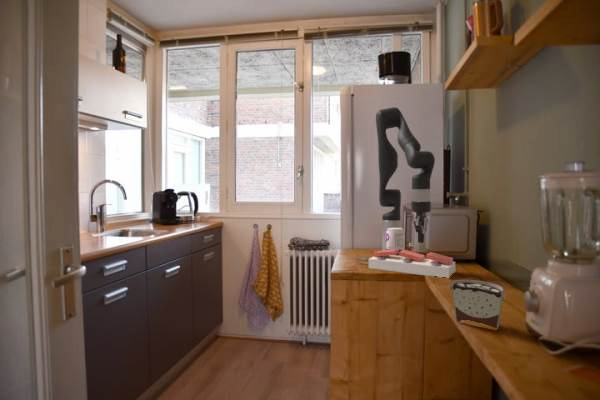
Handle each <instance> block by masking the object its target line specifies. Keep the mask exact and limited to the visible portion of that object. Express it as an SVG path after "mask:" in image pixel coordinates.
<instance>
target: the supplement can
mask: <svg viewBox="0 0 600 400" xmlns="http://www.w3.org/2000/svg"><path fill="white" fill-rule="evenodd" d="M395 249H398V250H399V252H400V251H402V250H405V230H404V228H402V227H401V228H388V229H387V231H386V250H395ZM391 256H399V253H398V254H395V255H391ZM401 257H402V256H401Z"/></svg>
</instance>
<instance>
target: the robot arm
mask: <svg viewBox="0 0 600 400" xmlns="http://www.w3.org/2000/svg"><path fill="white" fill-rule="evenodd" d="M375 125H376V134H377V135H376V136H377V148H378V151H377V152H378V158H377V159H378V172H379V173H378V174H379V175H378V176H379V188H378V189H379V193H378V195H379V197H378V200H379V205H380V206H381V207H383V208H384V207H385V208H394V209H392V210H390V211H389V212H386V213H384V214H382V220H381V221H382V222H381V223H382V224H381V225H382V229H381V231H382V232H381V233H382V235H381V237H382V244H381V246H382V250H381V251H383V250H386V231H387V229H388V228H402V227H401V220H402V219H401V205H402V203H401V202H402V193H401V190H400V189H399V188H396V189H395V188H394V189H393V188H392V189H391V188H390V189H387V186H388V183H389V182H390V179H391V178H392V177H393V176H394V174H395V172H396V171H397V169H398V166H399V163H398V160H399V159H398V158H399V157H398V152H397V150H396V148H395V147H394V145H392V144H391V142H390V140H389V138H388V136H387V130H389V129H392V128H393V129H394V128H397V129H398V134H397V142H398V145H399V147H400V148H401V150H402V152H404V155H405V160H406V163H407V165H408V166H409V167H410V168H411V169H418V170H419V169H420V172H419V173H418V174H414V175H413V176H412V178H411V195H410V197H411V207H410V208H411V209H410V211H411V212H412V213H415V216H414V221H413V225H414V230H415V233H416V234H417V242H418V243H420V244H421V243H422V244H423V243H425V234H426V232H427V227H428V223H429V222H428V221H429V218H428V216H427V213H430V212H431V211H432V203H431V201H432V197H431V196H432V194H431V179H432V173H433V169H434V166H435V163H436V162H435V161H436V159H435V155H434V154H433V153H432V151H427V150H425V151H424V150H421V148H422V147H421V144H420V142H419V141H418V140H417V138H416V137H415V136H414V134H413V133H412V131H411V129H410V128H409V126H408V124H407V121H406V120H405V117H404V115H403V113H402V111H400V109H399V108H398V107H388V108H382V109H379V110H377V112H376V114H375Z"/></svg>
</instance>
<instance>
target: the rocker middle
mask: <svg viewBox="0 0 600 400" xmlns="http://www.w3.org/2000/svg"><path fill="white" fill-rule="evenodd" d="M399 256H402V257H406V258H409V259H413V260H416V261H422V260H424V259H426V254H422V253H418V252H414V251H410V250H407V249H404V250H402V251H400V252H399Z"/></svg>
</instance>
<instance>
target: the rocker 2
mask: <svg viewBox="0 0 600 400" xmlns="http://www.w3.org/2000/svg"><path fill="white" fill-rule="evenodd" d="M425 259H430V260H434V261H438V262H441V263H445V264H449V265H450V264H451V263H452V262H454V257H451V256H447V255H443V254H441V253H440V254H439V253H437V252H436V253H435V252H431V251H429V252H428V253H426V254H425Z"/></svg>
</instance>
